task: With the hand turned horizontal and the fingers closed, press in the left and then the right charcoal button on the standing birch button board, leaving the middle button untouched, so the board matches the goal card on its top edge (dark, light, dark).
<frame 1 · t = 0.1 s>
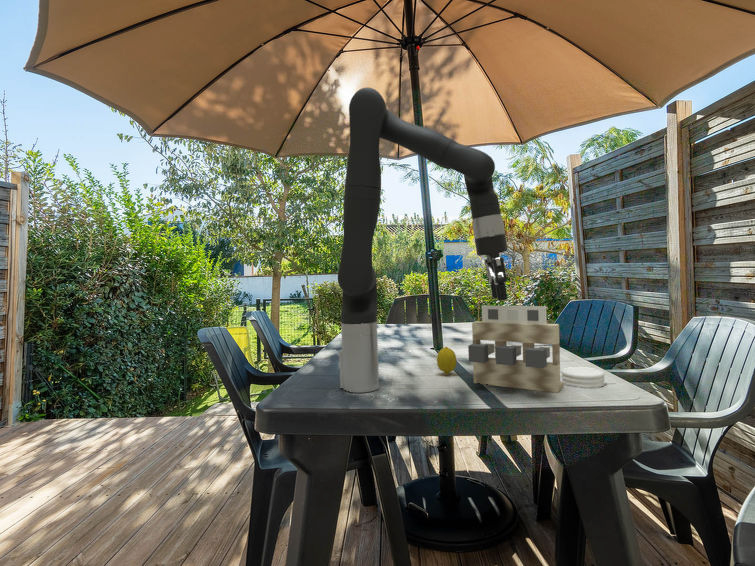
hand: (499, 299, 114), 22 cm above the table, tool pointing down, fingers open, 8 cm apart
lemon: (447, 375, 130), on the table
goal card: (512, 314, 114), on the board, point 18 cm above the table
button mid: (510, 352, 112), point 9 cm above the table, slide at 0.0 cm
button left: (483, 350, 116), point 9 cm above the table, slide at 0.0 cm
board: (515, 386, 115), on the table
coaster: (582, 385, 116), on the table
button right: (540, 355, 108), point 9 cm above the table, slide at 0.0 cm
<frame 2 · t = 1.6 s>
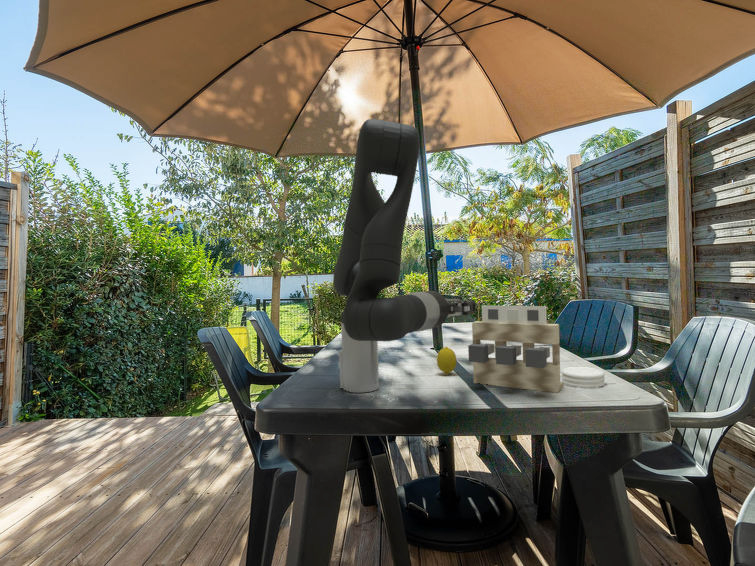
hand: (456, 304, 102), 22 cm above the table, tool horizontal, fingers open, 7 cm apart
nothing on the table moved.
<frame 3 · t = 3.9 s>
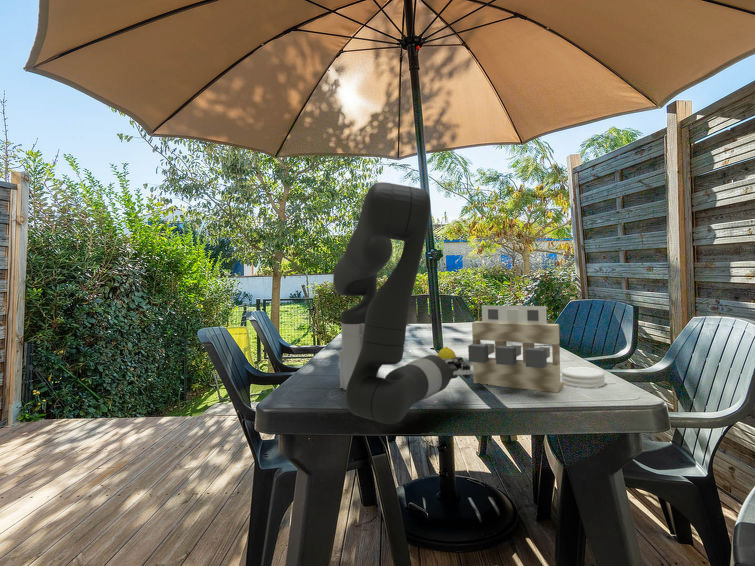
hand: (459, 361, 103), 9 cm above the table, tool horizontal, fingers closed
nothing on the table moved.
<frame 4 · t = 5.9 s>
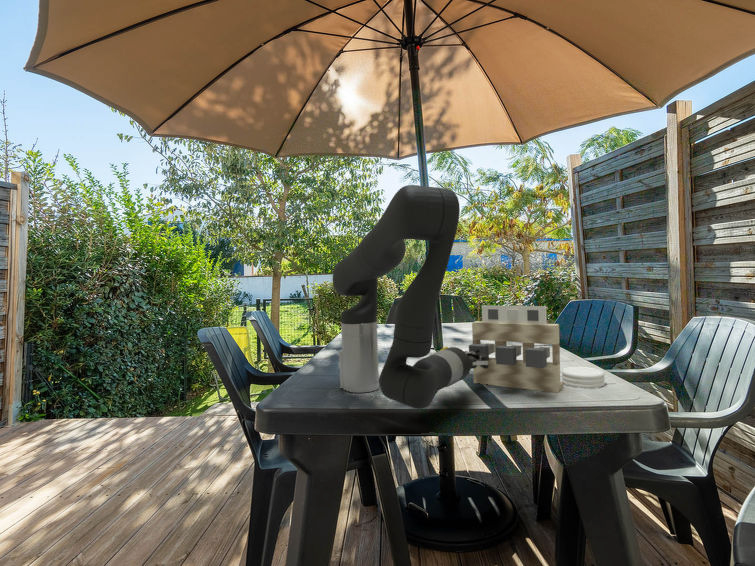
hand: (476, 353, 112), 9 cm above the table, tool horizontal, fingers closed
button left: (483, 350, 116), point 9 cm above the table, slide at 0.3 cm, touching gripper
everything else where it was.
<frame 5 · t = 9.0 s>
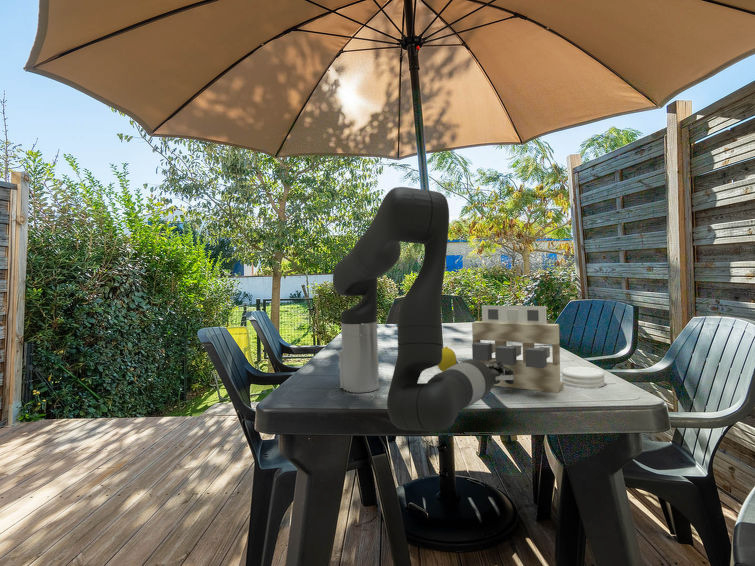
hand: (497, 365, 97), 9 cm above the table, tool horizontal, fingers closed
button left: (487, 349, 118), point 9 cm above the table, slide at 2.5 cm
everything else where it was.
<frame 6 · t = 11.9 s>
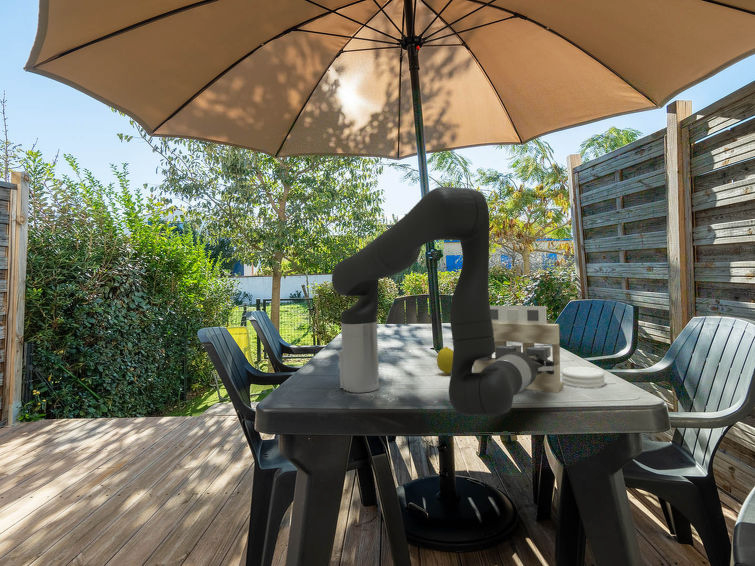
hand: (535, 358, 104), 9 cm above the table, tool horizontal, fingers closed
button right: (540, 354, 109), point 9 cm above the table, slide at 0.7 cm, touching gripper
everything else where it was.
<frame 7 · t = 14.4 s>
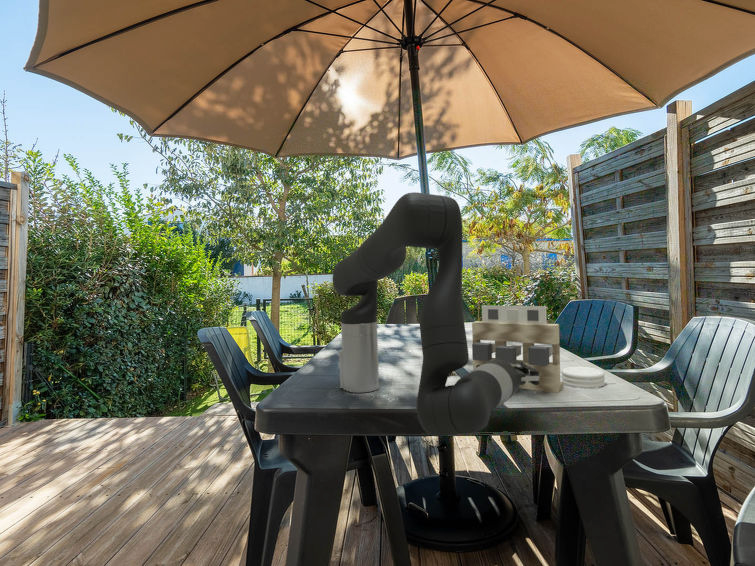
hand: (519, 365, 95), 9 cm above the table, tool horizontal, fingers closed
button right: (542, 353, 110), point 9 cm above the table, slide at 2.5 cm
everything else where it was.
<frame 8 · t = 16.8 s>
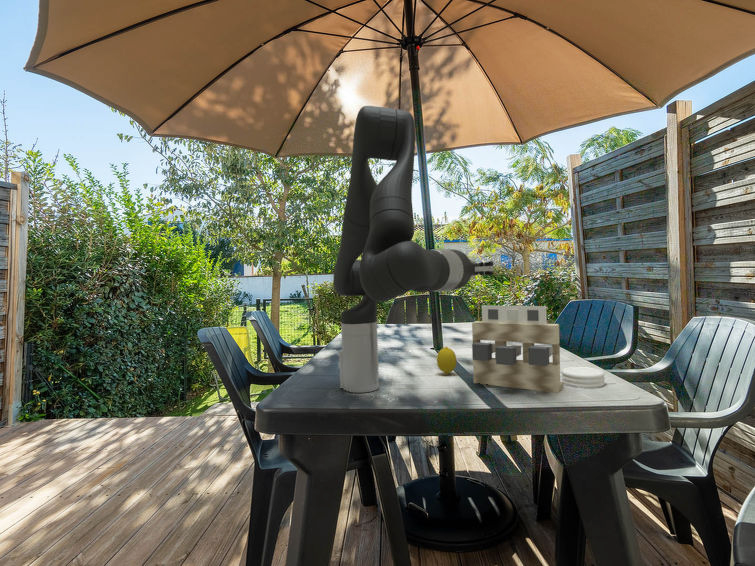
hand: (479, 268, 95), 30 cm above the table, tool horizontal, fingers closed
nothing on the table moved.
at the end: button left slide at 2.5 cm; button right slide at 2.5 cm; button mid slide at 0.0 cm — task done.
